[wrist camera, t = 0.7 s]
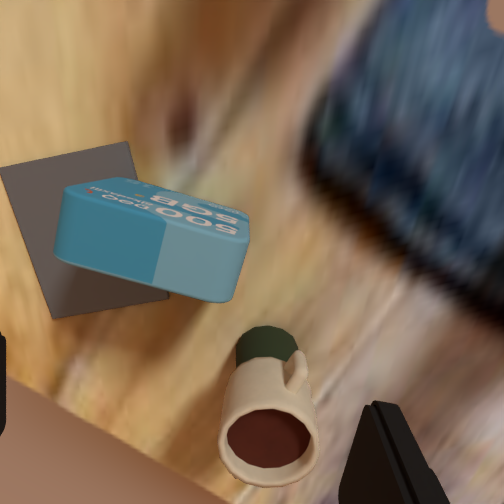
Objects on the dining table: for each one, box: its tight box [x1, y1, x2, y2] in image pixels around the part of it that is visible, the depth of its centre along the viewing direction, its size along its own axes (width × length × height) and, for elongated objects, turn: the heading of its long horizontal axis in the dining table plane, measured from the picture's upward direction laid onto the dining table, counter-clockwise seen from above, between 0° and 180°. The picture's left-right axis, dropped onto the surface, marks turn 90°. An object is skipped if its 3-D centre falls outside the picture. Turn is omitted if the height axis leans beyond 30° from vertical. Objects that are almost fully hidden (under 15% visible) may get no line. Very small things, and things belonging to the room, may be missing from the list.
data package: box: [53, 177, 250, 303], centre depth 29 cm, size 12×4×12 cm, turn 73°
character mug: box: [217, 326, 320, 488], centre depth 32 cm, size 11×7×13 cm, turn 152°
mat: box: [0, 141, 169, 319], centre depth 35 cm, size 12×15×1 cm
